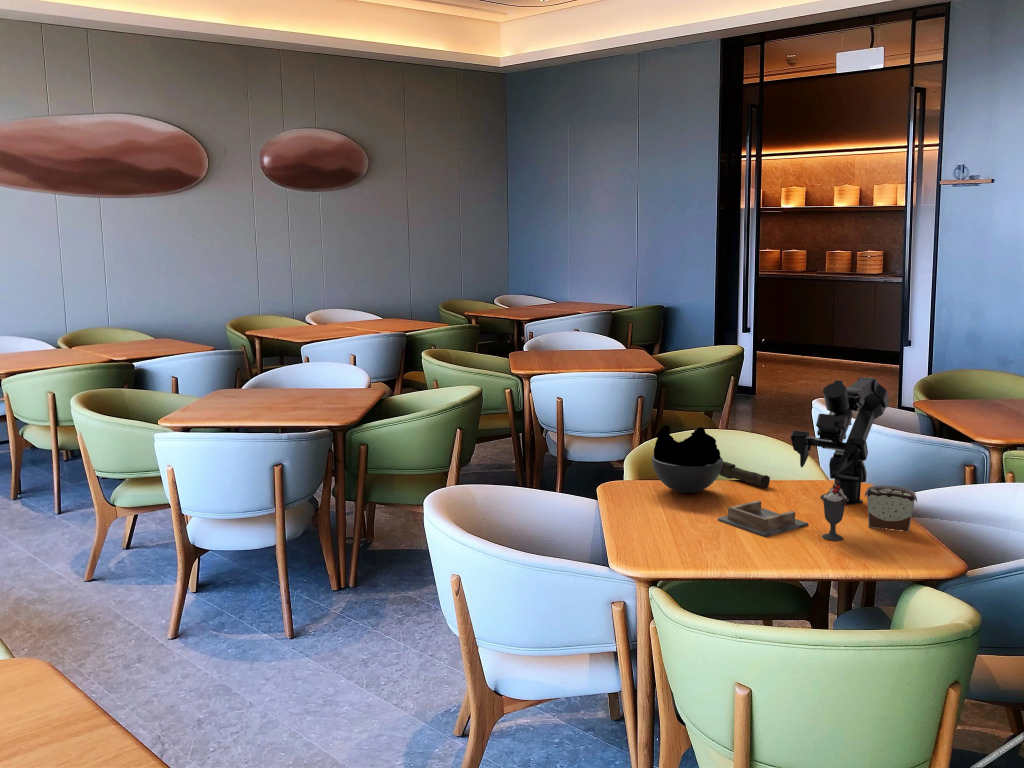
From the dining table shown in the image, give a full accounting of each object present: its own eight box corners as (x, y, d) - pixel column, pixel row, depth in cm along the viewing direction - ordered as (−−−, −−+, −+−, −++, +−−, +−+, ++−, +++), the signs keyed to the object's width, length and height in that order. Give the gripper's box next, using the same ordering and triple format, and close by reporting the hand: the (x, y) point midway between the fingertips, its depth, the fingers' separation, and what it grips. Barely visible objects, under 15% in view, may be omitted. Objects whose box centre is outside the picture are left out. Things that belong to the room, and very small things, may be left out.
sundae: (833, 543, 225) (836, 483, 222) (812, 535, 231) (815, 477, 228) (852, 539, 228) (856, 480, 225) (832, 531, 234) (835, 473, 231)
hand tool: (770, 487, 273) (771, 472, 272) (760, 489, 271) (761, 474, 270) (724, 473, 289) (724, 459, 288) (714, 475, 287) (715, 460, 286)
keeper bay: (759, 509, 252) (760, 496, 251) (808, 525, 239) (808, 511, 238) (717, 520, 243) (718, 506, 243) (765, 537, 230) (765, 523, 229)
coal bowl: (736, 495, 266) (739, 430, 262) (682, 506, 255) (684, 439, 252) (689, 478, 282) (691, 417, 279) (637, 488, 272) (638, 425, 269)
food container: (915, 526, 238) (918, 488, 236) (915, 533, 232) (917, 494, 231) (864, 519, 243) (866, 482, 241) (862, 526, 237) (864, 488, 236)
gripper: (796, 399, 246) (777, 442, 237) (869, 407, 235) (852, 452, 226) (803, 428, 252) (785, 471, 244) (874, 437, 242) (858, 482, 233)
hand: (819, 468), depth 237 cm, fingers open, 9 cm apart
